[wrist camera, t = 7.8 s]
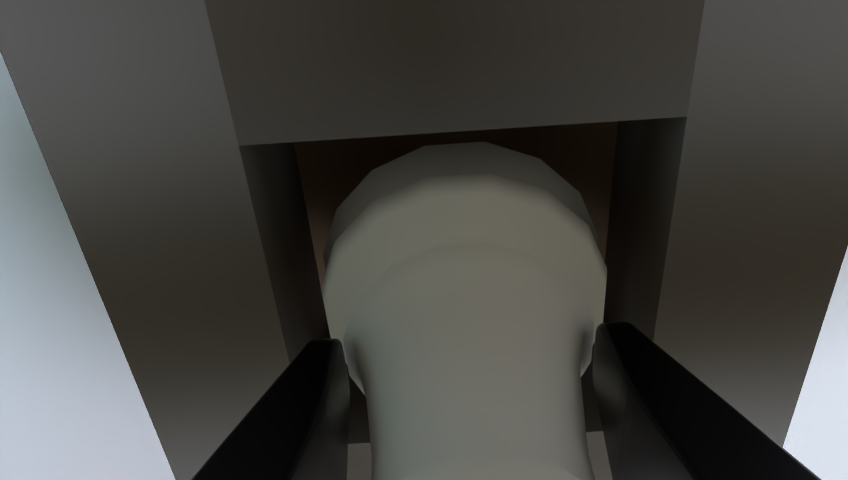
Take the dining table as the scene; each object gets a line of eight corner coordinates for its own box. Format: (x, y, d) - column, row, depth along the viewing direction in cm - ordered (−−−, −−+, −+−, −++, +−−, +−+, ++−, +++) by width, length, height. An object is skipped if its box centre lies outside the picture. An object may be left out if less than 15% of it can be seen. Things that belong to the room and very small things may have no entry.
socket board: (700, 399, 17) (779, 565, 13) (237, 423, 18) (187, 591, 14) (847, -291, 10) (1121, -354, 6) (35, -223, 10) (-194, -241, 6)
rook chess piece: (283, 292, 12) (102, 935, 5) (407, 74, 10) (383, 672, 3) (498, 383, 13) (586, 1001, 6) (649, 206, 11) (1021, 845, 4)
